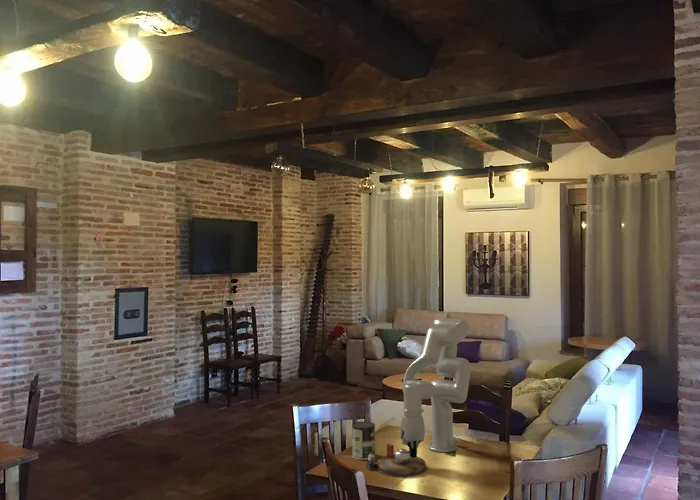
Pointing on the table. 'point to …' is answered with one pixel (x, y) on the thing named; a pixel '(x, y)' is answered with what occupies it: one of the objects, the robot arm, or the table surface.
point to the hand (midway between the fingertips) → (413, 456)
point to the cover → (402, 456)
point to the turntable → (390, 467)
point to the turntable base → (402, 476)
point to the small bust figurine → (371, 463)
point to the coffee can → (363, 440)
